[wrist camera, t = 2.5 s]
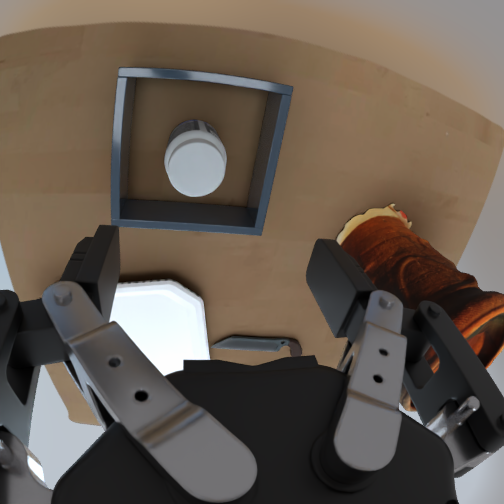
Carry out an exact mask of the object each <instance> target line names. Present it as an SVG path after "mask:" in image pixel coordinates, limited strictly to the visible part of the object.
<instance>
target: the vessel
mask: <svg viewBox="0 0 504 504" xmlns="http://www.w3.org/2000/svg"><path fill="white" fill-rule="evenodd" d="M394 205H395V204H391V205H389V206H387V207H386V208H384V209H382V208H373V209H369V210H368V211H367V212H366V213H365V214H364V215H357V216H355V217H353V218H352V219H351V220H350V221H349V222H348V223H346V225H345V228H344V230H343V231H342V232H341V233H340V234H339V235H338V238H337V240H336V241H337V242H338V243H339V245H340V246H341V247H342V249H343V250H344V251H345V252H346V253H348V254H349V255H350V256H352V257H353V258H354V259H355V260H356V261H357V263H358V264H359V265H360V267H361V268H362V269H363V270H364V273H366V274H367V276H368V277H369V278H370V280H371V281H372V282H373V284H374V285H375V286H376V288H377V289H378V290H383V291H387V292H389V293H391V294H393V295H395V296H396V297H397V298H398V299H399V300H400V301H401V302H402V304H403V308H408V309H413V310H416V309H417V307H418V306H419V304H420V302H422V301H431V302H434V303H436V304H437V305H439V306H440V307H441V308H443V309H444V311H445V312H446V313H447V315H448V316H449V317H450V319H451V320H452V321H453V323H454V324H455V325H456V327H457V328H458V329H459V331H460V332H461V334H462V335H463V336H464V338H465V339H466V341H467V342H468V343H469V345H470V346H471V348H472V349H473V351H474V352H475V354H476V355H477V357H478V358H479V359H480V361H481V362H482V364H483V365H484V367H485V369H487V368H488V367H489V366H490V365H491V364H492V362H493V360H494V359H495V358H496V357H497V356H498V355H499V354H500V352H502V350H503V348H504V294H502V293H499V292H495V291H488V292H487V291H482V290H481V289H480V288H479V287H478V283H477V281H476V279H475V277H474V276H472V275H470V274H467V273H462V272H460V271H458V270H457V268H456V266H455V264H454V263H453V262H451V261H450V260H448V259H447V258H445V257H444V256H443V255H441V254H440V253H439V252H438V251H437V250H435V249H434V248H433V247H432V246H431V245H430V244H429V242H428V241H427V240H424V239H421V238H420V237H418V236H417V235H416V234H414V233H413V232H412V231H411V230H410V229H409V228H410V227H411V225H412V223H411V222H409V223H408V222H407V216H406V215H405V214H404V213H403V212H402V211H399V212H397V211H395V210H394V208H393V206H394ZM424 357H425V359H426V360H427V362H428V364H429V366H430V367H431V369H432V371H433V372H434V373H435V372H436V371H437V369H438V367H439V358H438V356H437V354H436V352H435V351H434V349H433V348H432V346H430V347H429V349H428V350H427V352H426V353H425V354H424ZM399 402H400V403H401V405H402V406H403V408H404V409H405V410H407V411H417V410H416V408H415V406H414V404H413V402H412V400H411V398H410V396H409V394H408V392H407V390H406V388H405V386H404V384H403V382H402V388H401V395H400V401H399Z"/></svg>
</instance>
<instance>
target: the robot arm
mask: <svg viewBox="0 0 504 504" xmlns="http://www.w3.org/2000/svg"><path fill="white" fill-rule="evenodd" d="M119 275H120V244H119V227H118V226H116V225H99V227H98V229H97V231H96V233H95V235H94V237H85V238H84V239H83V240H81V241H80V242H79V243H78V244H77V246H76V248H75V250H74V252H73V254H72V256H71V258H70V260H69V262H68V264H67V266H66V268H65V271H64V273H63V275H62V277H61V279H60V282H56V283H54V284H52V285H50V286H49V287H48V288H46V290H45V291H44V292H43V295H42V298H40V299H36V300H30V301H24V302H20V301H19V298H18V296H17V294H16V293H15V292H13V291H10V290H0V504H459V503H458V500H457V496H456V490H455V482H454V478H458V477H461V476H462V475H464V474H465V473H467V472H468V471H470V470H471V469H473V468H474V467H476V466H477V465H479V464H480V463H481V462H483V461H484V460H485V459H487V458H488V457H489V456H491V455H492V454H493V453H495V452H496V451H497V450H499V448H501V447H502V446H504V397H503V395H502V394H501V392H500V391H499V389H498V387H497V386H496V384H495V383H494V381H493V379H492V378H491V376H490V375H489V373H488V372H487V370H486V369H485V367H484V365H483V364H482V362H481V361H480V359H479V358H478V357H477V355H476V354H475V352H474V351H473V349H472V348H471V346H470V345H469V343H468V342H467V341H466V339H465V338H464V336H463V335H462V334H461V332H460V331H459V329H458V328H457V327H456V325H455V324H454V323H453V321H452V320H451V319H450V317H449V316H448V315H447V313H446V312H445V311H444V309H443V308H441V307H440V306H439V305H437V304H436V303H434V302H431V301H422V302H420V304H419V306H418V307H417V309H416V310H413V309H408V308H403V304H402V302H401V301H400V300H399V299H398V298H397V297H396V296H395V295H393V294H391V293H389V292H387V291H383V290H378V289H377V288H376V286H375V285H374V284H373V282H372V281H371V280H370V278H369V277H368V276H367V274H366V273H364V270H363V269H362V268H361V267H360V265H359V264H358V263H357V261H356V260H355V259H354V258H353V257H352V256H350V255H349V254H348V253H346V252H345V251H344V250H343V249H342V247H341V246H340V245H339V243H338V242H337V241H336V240H331V239H318V240H317V241H316V243H315V245H314V249H313V252H312V255H311V258H310V261H309V264H308V267H307V271H306V280H307V284H308V286H309V288H310V289H311V291H312V293H313V295H314V297H315V299H316V301H317V303H318V305H319V307H320V309H321V311H322V313H323V315H324V317H325V319H326V321H327V323H328V325H329V327H330V329H331V331H332V333H333V335H334V336H335V338H341V337H347V338H348V340H347V342H346V344H345V346H344V349H343V352H342V355H341V358H340V361H339V363H338V366H337V369H334V368H331V367H328V366H323V365H318V362H317V360H316V358H315V355H311V356H298V357H285V358H281V359H278V360H274V361H271V362H267V363H264V364H260V365H256V366H250V365H244V364H238V363H233V362H227V361H222V360H183V370H179V371H175V372H172V373H169V374H167V375H165V376H164V375H163V374H162V373H161V372H160V371H159V370H158V369H157V368H156V367H155V366H154V364H153V363H152V362H151V361H150V360H149V359H148V358H147V357H146V356H145V354H144V353H143V352H142V351H141V350H140V349H139V348H138V346H137V345H136V344H135V343H134V342H133V341H132V339H131V338H130V337H129V336H128V335H127V333H126V332H125V331H124V330H123V329H122V327H121V326H120V325H119V324H118V323H117V322H116V321H112V322H109V321H110V316H111V311H112V306H113V301H114V297H115V292H116V288H117V284H118V279H119ZM430 346H432V348H433V349H434V351H435V352H436V354H437V356H438V358H439V367H438V369H437V371H436V372H435V373H434V372H433V371H432V369H431V367H430V366H429V364H428V362H427V360H426V359H425V357H424V354H425V353H426V352H427V350H428V349H429V347H430ZM58 362H63V363H64V365H65V367H66V369H67V370H68V372H69V374H70V375H71V377H72V379H73V380H74V382H75V384H76V385H77V387H78V389H79V390H80V392H81V393H82V395H83V396H84V398H85V400H86V401H87V403H88V405H89V406H90V408H91V410H92V412H93V414H94V415H95V417H96V419H97V420H98V422H99V423H100V425H101V426H102V427H103V429H104V430H105V432H104V433H103V434H102V435H101V436H100V437H99V438H98V439H97V440H96V441H95V442H94V443H93V444H92V445H91V447H90V448H89V449H88V450H87V451H86V452H85V453H84V454H83V455H82V456H81V457H80V458H79V459H78V460H77V461H76V462H75V463H74V464H73V465H72V466H71V467H70V468H69V469H68V470H67V471H66V472H65V473H64V474H63V475H62V476H61V478H60V479H59V480H58V482H57V484H56V485H55V488H54V490H51V489H49V488H48V487H47V485H46V484H45V481H44V478H43V470H42V466H41V464H40V462H39V460H38V459H37V457H36V456H35V455H34V454H33V453H32V452H31V451H30V450H29V449H28V443H29V434H30V426H31V419H32V412H33V405H34V399H35V393H36V388H37V383H38V378H39V373H40V367H41V365H46V364H52V363H58ZM402 382H403V384H404V386H405V388H406V390H407V392H408V394H409V396H410V398H411V400H412V402H413V404H414V406H415V408H416V410H417V412H418V414H419V416H420V419H421V421H422V423H423V425H424V426H423V425H422V424H420V423H418V422H417V421H415V420H414V419H412V418H411V417H409V416H407V415H406V414H405V413H403V412H402V411H400V410H399V401H400V395H401V388H402Z"/></svg>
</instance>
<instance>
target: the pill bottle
mask: <svg viewBox="0 0 504 504" xmlns="http://www.w3.org/2000/svg"><path fill="white" fill-rule="evenodd" d="M226 162H227V156H226V151H225V148H224V146H223V144H222V142H221V140H220V138H219V136H218V134H217V132H216V130H215V129H214V128H213V127H212V126H211V125H210V124H208V123H206V122H204V121H201V120H188V121H185V122H183V123H181V124H179V125H178V126H177V127H176V128H175V129H174V130H173V132H172V133H171V135H170V138H169V141H168V145H167V149H166V153H165V158H164V163H165V169H166V172H167V174H168V176H169V180H170V182H171V184H172V185H173V186H174V188H175V189H176V190H178V191H179V192H181V193H182V194H184V195H187V196H192V197H198V196H204V195H207V194H209V193H211V192H213V191H214V190H215V189H216V188H217V187H218V186H219V185H220V184H221V182H222V180H223V178H224V175H225V167H226Z"/></svg>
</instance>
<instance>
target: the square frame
mask: <svg viewBox="0 0 504 504" xmlns="http://www.w3.org/2000/svg"><path fill="white" fill-rule="evenodd" d="M137 77H143V78H164V79H179V80H191V81H201V82H210V83H218V84H226V85H233V86H240V87H247V88H253V89H259V90H264V91H269V94H268V99H267V104H266V109H265V114H264V119H263V124H262V129H261V134H260V140H259V145H258V150H257V155H256V160H255V165H254V170H253V176H252V181H251V186H250V191H249V197H248V202H247V207H236V206H224V205H211V204H198V203H184V202H168V201H152V200H133V199H128V175H129V154H130V138H131V125H132V114H133V104H134V95H135V87H136V79H137ZM292 92H293V86H289V85H284V84H279V83H274V82H269V81H264V80H258V79H252V78H246V77H240V76H233V75H226V74H219V73H210V72H201V71H191V70H180V69H165V68H144V67H119V70H118V78H117V87H116V96H115V107H114V119H113V134H112V154H111V225H116V226H118V227H130V228H148V229H165V230H182V231H198V232H214V233H229V234H244V235H258V236H261V235H262V231H263V226H264V222H265V217H266V213H267V208H268V204H269V199H270V194H271V190H272V185H273V181H274V176H275V171H276V167H277V162H278V158H279V153H280V148H281V144H282V139H283V134H284V130H285V125H286V120H287V116H288V111H289V106H290V102H291V97H292V96H291V95H292Z"/></svg>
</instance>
